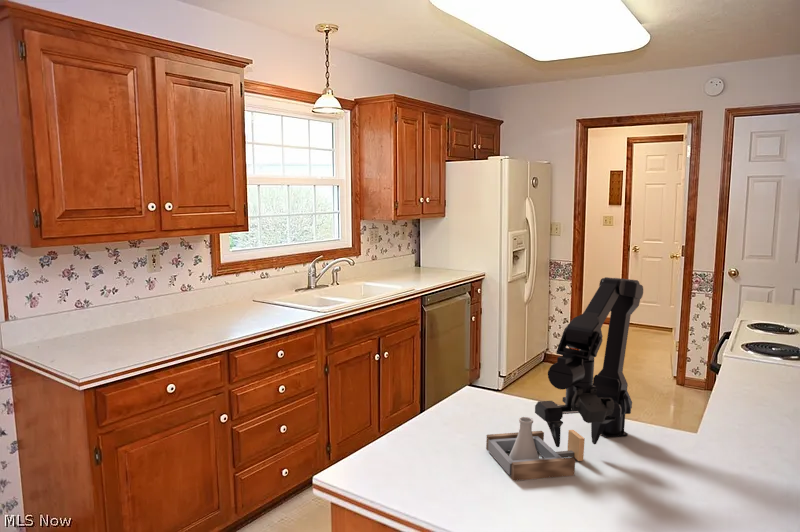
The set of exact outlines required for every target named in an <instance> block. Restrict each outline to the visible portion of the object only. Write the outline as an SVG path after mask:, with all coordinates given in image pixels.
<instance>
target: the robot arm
mask: <svg viewBox="0 0 800 532" xmlns="http://www.w3.org/2000/svg"><path fill="white" fill-rule="evenodd" d="M640 283H641V282H640V281H639V280H638V279H626V278H620V277H619V278H618V277H602V278H601V279H600V281H599V285H598V288H597V290H596V291H595V293H594V294H593V296H592V298H591V299H590V302H589V303H588V305H587V306H586V308H585V309H584V311H583V313H582V314H579V315H577V316H576V317H574V318H573V317H572V319H571V320H570V322H569V323H568V324H567V325H566V327H564V329H563V332H562V335H561V338H560V341H559V343H558V346H557V348H556V349H557V350H556V352H555V353H556V355H561V356H558V357H557V360H556V361H557V362H555V363H552V365H551V366H550V367H549V368H548V371H547V378H548V380H549V383H550V384H551V385H552V387H554V388H555V389H558V390H562V391H563V390H565V396H563V397H562V402H563V403H564V404H562V405H561V404H559V405H558V404H557V403H556V402H554V401H553V400H541V401H537V402H536V403H535V405H534V413H535V414H536V415H537V416H539V418H541V419H542V420H543V421H545V422H546V424H547V426H548V428H549V431H550V434H551V436H552V437H551V438H552V439H553V442H554V444H555V447H556V448H560V444H561V428H562V425H563V424H564V422H563V421H562V419H563V415H569V414H571V415H572V414H580V416H581V418H582V420H583V422H585V423H587V424H590V428H591V430H590V431H591V433H590V434H591V435H590V436H591V437H590V438H591V443H592V444H593V445H597V444H598V441H599V439H600V437H601V436H603V438H616V437H627V436H628V435H629V433H628V432H627V431H625V426H626V425H625V424H626V423H625V421H626V415H630V414H632V408H633V400H632V398H631V396H630V393H629V392H628V391H629V390H628V381H627V379H626V377H625V374H624V372H623V371H624V365H625V364H624V363H625V357H626V350H627V344H628V343H627V342H628V335H629V329H630V322H631V315H633V313H634V312H635V311H636V310H637V309H638V308H639V305H640V302H641V300H642V298H643V295H644V286H643V284H640ZM609 314H610V316H609ZM608 316H609V321H608V323H609V324H608V330H607V336H606V344H605V351H604V356H603V357H604V358H603V365H602V369H601V370H600V371H599V372H598V374H594V371H595V370H594V369H595V358H597V355H598V352H599V350H600V348H601V346H602V343H603V332H602V327H603V325H604V323H605V321H606V320H607V317H608Z"/></svg>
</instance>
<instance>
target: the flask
mask: <svg viewBox="0 0 800 532" xmlns="http://www.w3.org/2000/svg"><path fill="white" fill-rule="evenodd" d="M518 421H519V429H518V432H519V433H518V436H517V439H516V441H515V444H514V446H513V448H512V450H511V451H510V453H509V455H508V456H509V457H510V458H511V459H512V460H513V461H516V460H528V459H540V458H539V453H538V452H537V450H536V447H535V444H534V440H533V436H532V431H533V429H532V428H533V427H532V425H533V423H534V419H533V418H531V417H528V416H521V417H519V418H518Z"/></svg>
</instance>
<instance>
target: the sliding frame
mask: <svg viewBox="0 0 800 532" xmlns="http://www.w3.org/2000/svg"><path fill="white" fill-rule="evenodd" d="M567 435H568V436H567V450H561V451H560V450H559V451H558V450H557V451H555V449H553V448H552V447H551V446H549V444H547V443H546V442H545V441H543V440H542V439H541V438H539V437H538V436H533V440H534V444H535V447H536V450H537V453H538V455H540V456H542V458H541V457H540V458H539V459H528V460H516V461H513V460H512V459H511V458H510V457H509V455H508V454H507V452H511V450H512V448H513V446H514V444H515V441H516V439H517V438H505V439H492V440H488V451H487V452H489V454H490V455H491V456H492V457H493V458H494V459H495V461H496V462H497V463H498V464H499V465H500V466H501V467H502V469H503V470H504V471H505V472H506V473H507V474H508V476H511V469H512V462H523V461H535V460H547V459H558V458H570V457H573V458H574V459H575V460H577V461H578V462H580V461H582V462H583V461H584V456H585V455H584V453H585V451H584V450H585V442H586V441H585V437H583V436H582V435H581V434H580V433H578V432H577V431H576V430H575V429H568V434H567Z"/></svg>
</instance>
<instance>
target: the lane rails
mask: <svg viewBox="0 0 800 532" xmlns="http://www.w3.org/2000/svg"><path fill="white" fill-rule="evenodd" d="M518 433H519V431H518V432H508V433H507V432H505V433H493V434H486V441H485V442H486V444H485V446H486V447H485V449H486V451H487V452H489V451H488V440H492V439H505V438H517V436H518ZM532 436H538V437H539V438H541V439H542V440H543V441H544V439H545V432H544V431H542V430H535V431H534V430H532ZM544 442H545V441H544ZM575 467H576V458H574V457H567V458H558V459H547V460H535V461H523V462H512V469H511V475H510V479H511V480H512V482H516V481H517V482H518V481H525V480H526V481H527V480H537V479H548V478H560V477H561V478H562V477H573V476H575V474H576V473H575V471H576V468H575Z"/></svg>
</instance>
